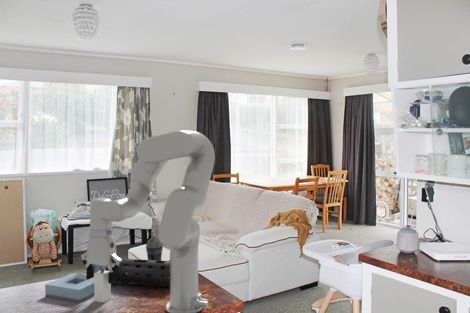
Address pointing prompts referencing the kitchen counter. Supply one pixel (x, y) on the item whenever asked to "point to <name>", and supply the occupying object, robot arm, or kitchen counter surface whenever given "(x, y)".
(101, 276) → the white square peg
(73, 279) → the socket plate
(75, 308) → the kitchen counter surface
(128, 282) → the muzzle brake
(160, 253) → the beverage cup
